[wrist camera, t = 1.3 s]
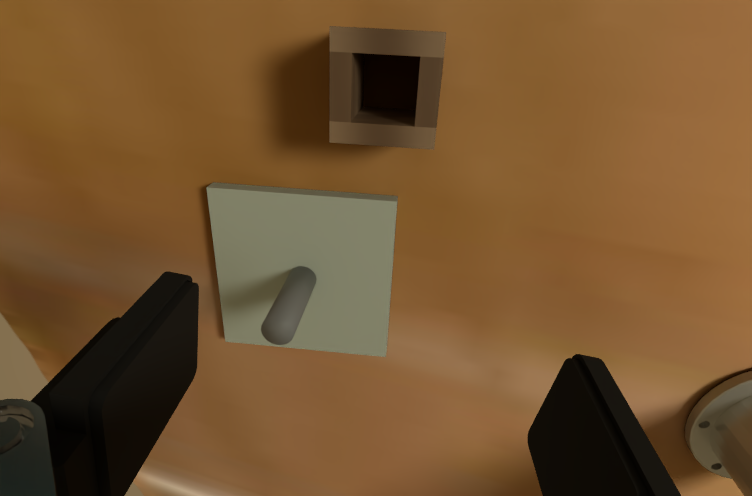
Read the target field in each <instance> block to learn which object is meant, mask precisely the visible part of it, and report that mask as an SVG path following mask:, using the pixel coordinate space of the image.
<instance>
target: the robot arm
mask: <svg viewBox="0 0 752 496" xmlns="http://www.w3.org/2000/svg"><path fill="white" fill-rule="evenodd" d="M198 301H199V286H198V284H197V283H193V282H192V278H191V277H190V276H188V275H183V274H178V273H173V272H165V273H163V274H162V275H161V276H160V277H159V278H158V280H157V281H156V282H155V283H154V284H153V285H152V286H151V287H150V288H149V289H148V290H147V291H146V292H145V293H144V294H143V295H142V296H141V297H140V298H139V299H138V300H137V301H136V302H135V304H134V305H133V306H132V307H131V308H130V309H129V310H128V311H127V312H126V313H125V314H124V315H123V316H122V317H121V318H118V317H117V318H114V319H112V320H111V321H110V322H108V323H107V324H106V325H105V326H104V327H103V328H102V329H101V330H100V331H99V332H98V333H97V334H96V335H95V336H94V337H93V338H92V339H91V340H90V341H89V342H88V343H87V345H86V346H85V347H84V348H83V349H82V350H81V351H80V352H79V353H78V354H77V355H76V356H75V357H74V358H73V359H72V360H71V361H70V362H69V363H68V364H67V365H66V366H65V367H64V368H63V369H62V370H61V371H60V372H59V373H58V374H57V375H56V376H55V377H54V378H53V379H52V380H51V381H50V382H49V383H48V384H47V385H46V386H45V387H44V388H43V389H42V390H41V391H40V392H39V393H38V394H37V395H36V396H35V397H34V398H33V399H32V400H31V401H27V400H23V399H5V400H0V496H124V495H125V494H126V492H127V490H128V489H129V487H130V485H131V484H132V482H133V480H134V479H135V477H136V475H137V473H138V472H139V470H140V468H141V467H142V465H143V463H144V462H145V460H146V458H147V457H148V455H149V453H150V452H151V450H152V448H153V446H154V445H155V443H156V441H157V440H158V438H159V436H160V435H161V433H162V431H163V430H164V428H165V426H166V425H167V423H168V421H169V419H170V418H171V416H172V414H173V413H174V411H175V409H176V408H177V406H178V404H179V403H180V401H181V399H182V398H183V396H184V394H185V392H186V391H187V389H188V387H189V386H190V384H191V382H192V381H193V379H194V376H195V373H196V369H197V347H198ZM685 439H686V442H687V445H688V447H689V449H690V450H691V452H692V454H693V455H694V457H695V458H696V459H697V461H698V462H699V463H700V464H701V465H702V466H703V467H705V468H706V469H707V470H709V471H711V472H713V473H715V474H718V475H720V476H722V477H726V478H730V479H733V480H734V482H735V483H736V485H737V486H738V488H739V489H740V490H741V492H742V493H743V495H744V496H752V371H749V372H746V373H743V374H740V375H737V376H735V377H733V378H731V379H728V380H726V381H724V382H723V383H721V384H720V385H718V386H716V387H715V388H713V389H712V390H711V391H709V392H708V393H707V394H706V395H705V396H703V397H702V398H701V399H700V401H699V402H698V403H697V404H696V405H695V407H694V408H693V409H692V411H691V413H690V415H689V417H688V419H687V423H686V426H685ZM528 446H529V450H530V453H531V456H532V460H533V463H534V467H535V470H536V474H537V477H538V481H539V484H540V488H541V491H542V494H543V496H681V494H680V493H679V491H678V489H677V488H676V486H675V484H674V482H673V481H672V479H671V477H670V475H669V474H668V472H667V470H666V469H665V467H664V465H663V463H662V462H661V460H660V458H659V457H658V455H657V453H656V451H655V450H654V448H653V446H652V445H651V443H650V441H649V439H648V438H647V436H646V434H645V432H644V431H643V429H642V427H641V426H640V424H639V422H638V420H637V419H636V417H635V415H634V414H633V412H632V410H631V408H630V407H629V405H628V403H627V401H626V400H625V398H624V396H623V395H622V393H621V391H620V389H619V388H618V386H617V384H616V383H615V381H614V379H613V377H612V376H611V374H610V372H609V371H608V369H607V367H606V365H605V364H604V362H603V361H602V360H601V359H599V358H595V357H590V356H585V355H580V354H576V355H574V356H573V357H572V359H571V358H568V359H566V360H565V362H564V364H563V365H562V367H561V369H560V371H559V373H558V375H557V377H556V379H555V381H554V383H553V385H552V387H551V389H550V391H549V393H548V395H547V396H546V398H545V400H544V402H543V404H542V406H541V408H540V410H539V412H538V414H537V416H536V418H535V420H534V422H533V424H532V426H531V427H530V430H529V432H528Z"/></svg>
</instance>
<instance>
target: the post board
mask: <svg viewBox="0 0 752 496" xmlns="http://www.w3.org/2000/svg"><path fill="white" fill-rule="evenodd" d="M206 188H207V196H208V205H209V213H210V221H211V229H212V237H213V245H214V253H215V261H216V269H217V277H218V285H219V293H220V301H221V309H222V317H223V326H224V334H225V342H235V343H246V344H256V345H267V346H277V347H288V348H298V349H309V350H319V351H330V352H340V353H350V354H361V355H371V356H382V357H386V351H387V338H388V324H389V310H390V296H391V282H392V268H393V254H394V240H395V226H396V212H397V198H398V196H389V195H376V194H362V193H349V192H335V191H322V190H308V189H295V188H281V187H268V186H254V185H241V184H227V183H212V184H210V185H209V186H208V187H206Z"/></svg>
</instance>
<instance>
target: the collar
mask: <svg viewBox="0 0 752 496" xmlns="http://www.w3.org/2000/svg"><path fill="white" fill-rule="evenodd" d="M445 40H446V32H433V31H414V30H395V29H375V28H356V27H336V26H330V85H329V143H344V144H359V145H374V146H389V147H403V148H418V149H433V150H434V146H435V136H436V126H437V117H438V107H439V97H440V88H441V78H442V69H443V59H444V49H445ZM365 53H366V54H384V55H403V56H420V64H419V76H418V88H417V100H416V110H407V109H391V108H375V107H363V87H364V57H365Z"/></svg>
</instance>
